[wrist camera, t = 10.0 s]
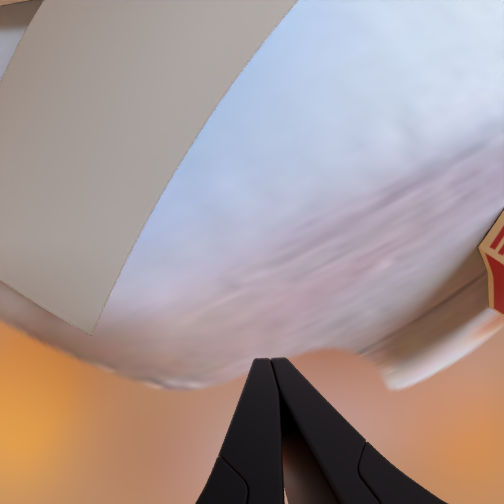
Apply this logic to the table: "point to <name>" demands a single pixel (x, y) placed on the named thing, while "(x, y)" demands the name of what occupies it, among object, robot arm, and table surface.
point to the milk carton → (495, 264)
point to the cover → (106, 132)
